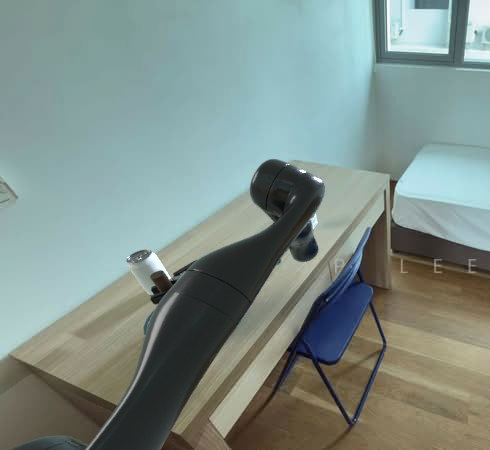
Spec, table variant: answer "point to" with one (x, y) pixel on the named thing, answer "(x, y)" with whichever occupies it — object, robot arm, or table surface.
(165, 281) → the brown post with base
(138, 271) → the can
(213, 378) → the table surface
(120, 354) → the table surface
